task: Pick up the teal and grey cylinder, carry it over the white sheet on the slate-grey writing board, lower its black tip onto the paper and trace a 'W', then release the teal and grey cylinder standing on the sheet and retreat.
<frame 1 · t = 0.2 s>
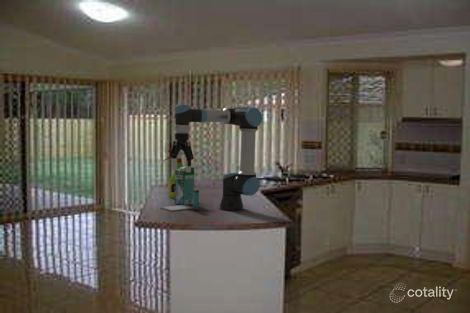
hand: (181, 171, 282), 28 cm above the countertop, fingers open, 13 cm apart
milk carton: (184, 204, 340), on the countertop
teal and grey cylinder: (195, 210, 317), on the countertop
spray bottle: (175, 197, 367), on the countertop
writing board: (177, 208, 321), on the countertop
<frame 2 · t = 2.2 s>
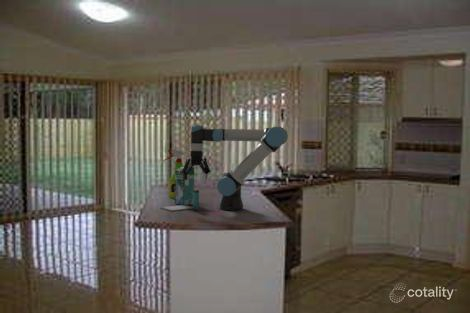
hand: (195, 184, 315), 16 cm above the countertop, fingers open, 13 cm apart
nothing on the countertop moved.
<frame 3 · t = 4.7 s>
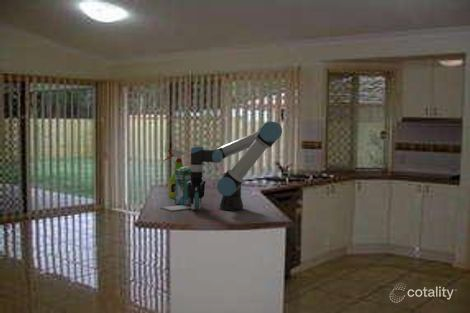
hand: (195, 208, 316), 1 cm above the countertop, fingers closed on teal and grey cylinder, 3 cm apart
teal and grey cylinder: (195, 210, 317), on the countertop, touching gripper
everything else where it was.
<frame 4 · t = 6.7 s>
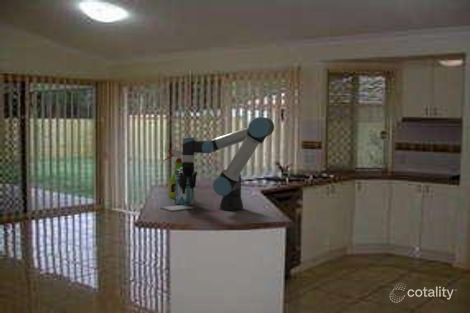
hand: (187, 198, 321), 6 cm above the countertop, fingers closed on teal and grey cylinder, 3 cm apart
teal and grey cylinder: (186, 203, 321), point 3 cm above the countertop, touching gripper
everything else where it was.
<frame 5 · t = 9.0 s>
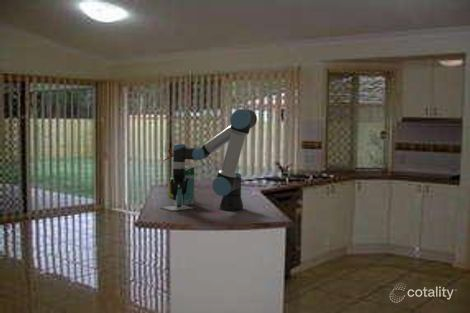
hand: (178, 204, 324), 2 cm above the countertop, fingers closed on teal and grey cylinder, 3 cm apart
teal and grey cylinder: (179, 206, 324), point 1 cm above the countertop, touching gripper, writing board
everything else where it was.
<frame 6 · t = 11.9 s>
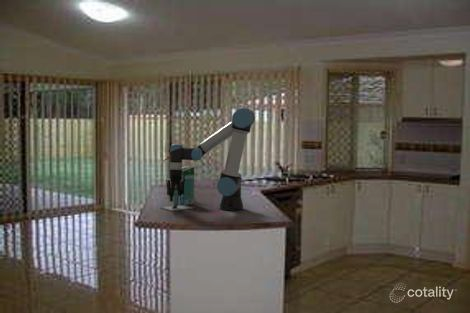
hand: (175, 206, 319), 2 cm above the countertop, fingers closed on teal and grey cylinder, 3 cm apart
teal and grey cylinder: (174, 207, 319), point 1 cm above the countertop, touching gripper
everything else where it was.
when the fingers open (2 cm above the countertop, at t = 13.7 s): teal and grey cylinder stays where it is, resting on writing board.
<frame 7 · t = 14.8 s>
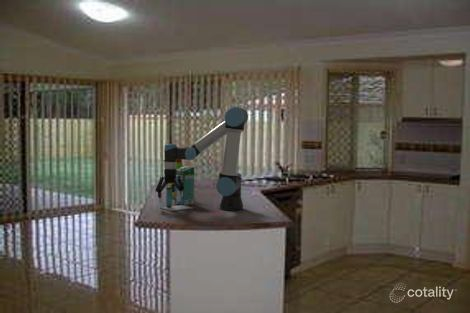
hand: (169, 202, 320), 4 cm above the countertop, fingers open, 13 cm apart
teal and grey cylinder: (169, 207, 321), point 1 cm above the countertop, touching writing board
everything else where it was.
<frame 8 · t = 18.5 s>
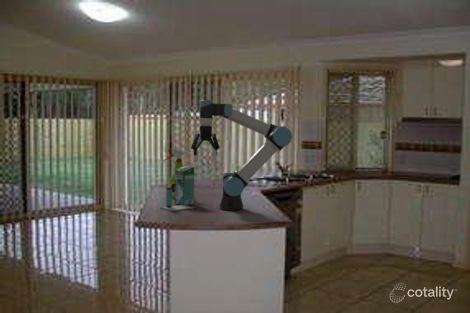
hand: (205, 160, 309), 32 cm above the countertop, fingers open, 13 cm apart
nothing on the countertop moved.
at the end: teal and grey cylinder inside the target area on the writing board (5.4 cm from its centre), point 0.8 cm above the writing board's base; the gripper is holding nothing; teal and grey cylinder moved 17.7 cm from its start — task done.
